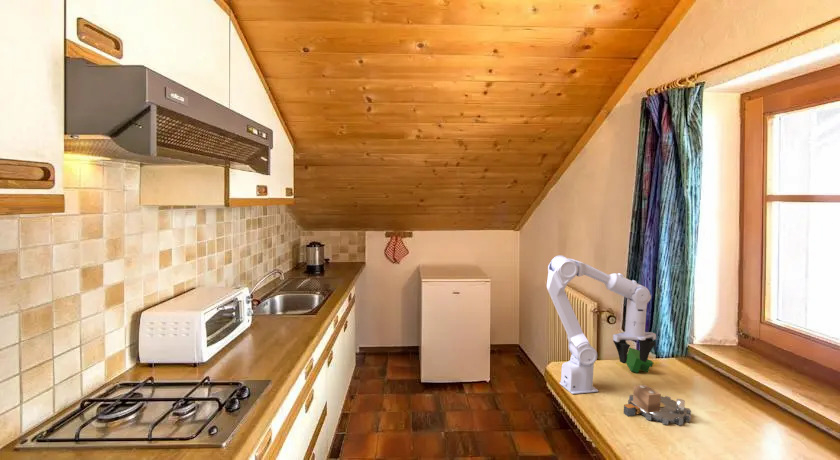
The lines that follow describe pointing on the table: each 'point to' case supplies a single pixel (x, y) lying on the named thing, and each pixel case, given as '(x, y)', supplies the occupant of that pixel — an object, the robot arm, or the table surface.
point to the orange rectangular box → (629, 410)
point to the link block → (646, 398)
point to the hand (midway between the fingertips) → (632, 361)
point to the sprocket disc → (666, 411)
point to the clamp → (637, 361)
